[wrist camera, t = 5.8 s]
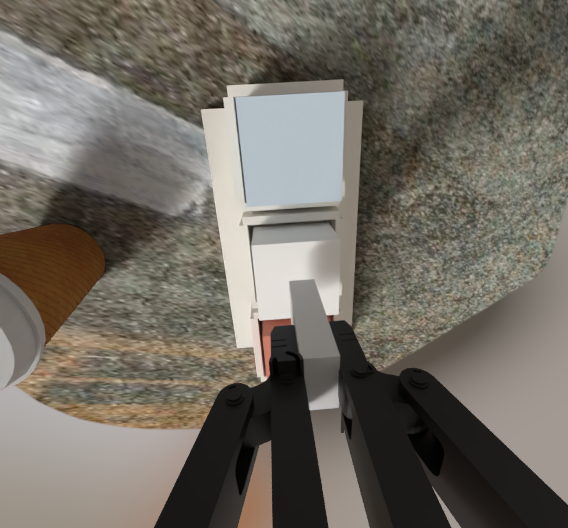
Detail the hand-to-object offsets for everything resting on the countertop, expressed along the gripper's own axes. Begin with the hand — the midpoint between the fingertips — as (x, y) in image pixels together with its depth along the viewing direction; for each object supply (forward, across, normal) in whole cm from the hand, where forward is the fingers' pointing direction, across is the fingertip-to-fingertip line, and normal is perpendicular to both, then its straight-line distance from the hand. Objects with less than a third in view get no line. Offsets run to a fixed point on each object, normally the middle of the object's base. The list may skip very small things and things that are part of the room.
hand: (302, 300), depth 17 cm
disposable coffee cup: (+10, -20, 0) cm, 23 cm away
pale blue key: (+6, 0, +8) cm, 10 cm away
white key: (+6, 0, 0) cm, 6 cm away
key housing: (+10, 0, 0) cm, 10 cm away
